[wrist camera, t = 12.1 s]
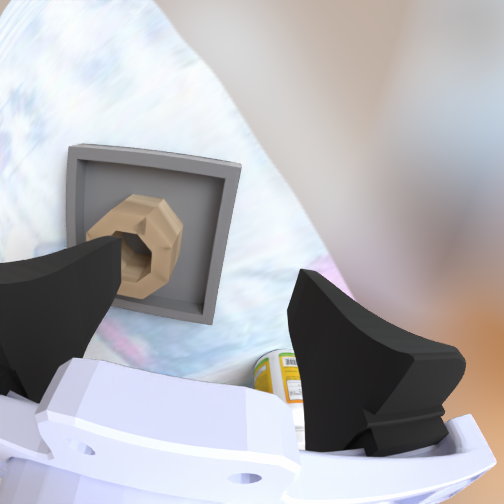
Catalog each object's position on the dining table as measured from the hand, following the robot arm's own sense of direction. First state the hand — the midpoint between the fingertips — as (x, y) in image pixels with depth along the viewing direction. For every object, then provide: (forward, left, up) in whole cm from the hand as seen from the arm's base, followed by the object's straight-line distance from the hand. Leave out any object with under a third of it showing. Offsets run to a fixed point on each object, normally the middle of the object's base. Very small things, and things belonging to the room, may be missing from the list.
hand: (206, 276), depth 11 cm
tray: (-3, +5, -9) cm, 11 cm away
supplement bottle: (-14, -8, -10) cm, 19 cm away
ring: (-3, +5, -9) cm, 10 cm away
